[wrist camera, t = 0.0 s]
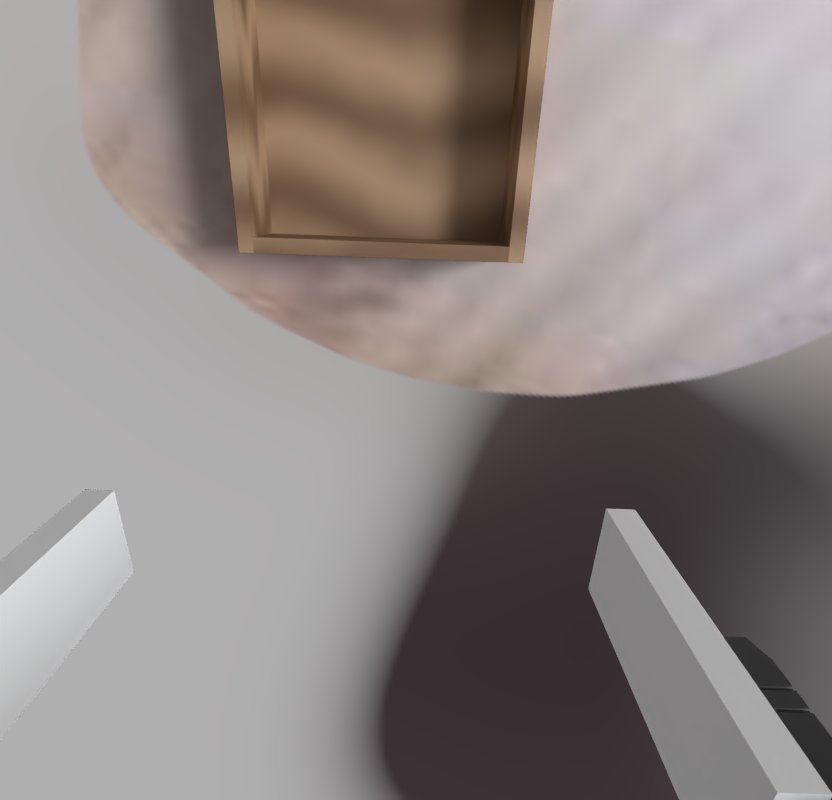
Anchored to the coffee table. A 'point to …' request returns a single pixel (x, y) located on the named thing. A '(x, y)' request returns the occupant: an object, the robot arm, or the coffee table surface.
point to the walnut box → (383, 125)
